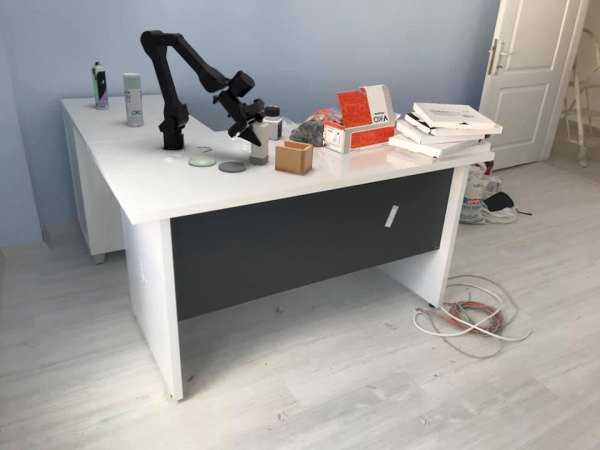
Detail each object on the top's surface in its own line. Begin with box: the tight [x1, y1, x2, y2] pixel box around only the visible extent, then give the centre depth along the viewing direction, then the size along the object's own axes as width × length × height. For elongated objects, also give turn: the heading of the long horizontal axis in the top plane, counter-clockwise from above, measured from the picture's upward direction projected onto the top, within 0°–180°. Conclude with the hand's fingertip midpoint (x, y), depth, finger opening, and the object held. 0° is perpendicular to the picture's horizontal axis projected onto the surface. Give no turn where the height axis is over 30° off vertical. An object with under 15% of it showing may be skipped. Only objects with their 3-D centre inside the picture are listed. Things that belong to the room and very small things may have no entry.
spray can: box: [91, 61, 110, 111], centre depth 219 cm, size 6×6×20 cm
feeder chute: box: [274, 139, 315, 176], centre depth 163 cm, size 10×8×8 cm
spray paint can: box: [122, 72, 145, 128], centre depth 197 cm, size 6×6×20 cm
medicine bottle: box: [262, 105, 283, 141], centre depth 194 cm, size 7×7×12 cm
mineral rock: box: [288, 118, 324, 147], centre depth 190 cm, size 13×11×10 cm
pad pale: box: [187, 155, 217, 168], centre depth 165 cm, size 9×9×1 cm
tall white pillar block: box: [249, 122, 270, 166], centre depth 166 cm, size 5×5×13 cm
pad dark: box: [217, 160, 247, 174], centre depth 162 cm, size 9×9×1 cm
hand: (263, 144), depth 165 cm, fingers closed on tall white pillar block, 4 cm apart
